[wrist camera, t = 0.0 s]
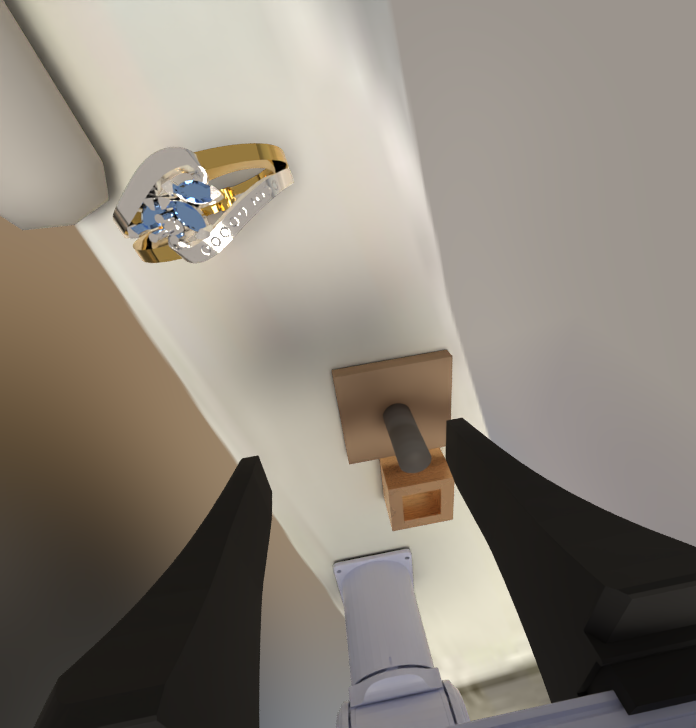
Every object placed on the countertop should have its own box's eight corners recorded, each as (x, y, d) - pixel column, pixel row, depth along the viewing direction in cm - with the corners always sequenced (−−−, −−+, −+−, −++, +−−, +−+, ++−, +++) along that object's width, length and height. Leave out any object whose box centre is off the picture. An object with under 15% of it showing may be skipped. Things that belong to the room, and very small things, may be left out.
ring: (182, 251, 18) (104, 298, 11) (147, 187, 16) (28, 192, 9) (305, 208, 17) (306, 228, 10) (281, 137, 16) (264, 106, 9)
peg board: (445, 436, 27) (476, 492, 22) (347, 454, 26) (357, 516, 22) (446, 349, 23) (485, 395, 18) (331, 370, 22) (339, 422, 18)
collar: (438, 487, 30) (452, 519, 27) (384, 497, 29) (392, 531, 27) (438, 446, 27) (454, 477, 24) (379, 458, 27) (388, 490, 24)
